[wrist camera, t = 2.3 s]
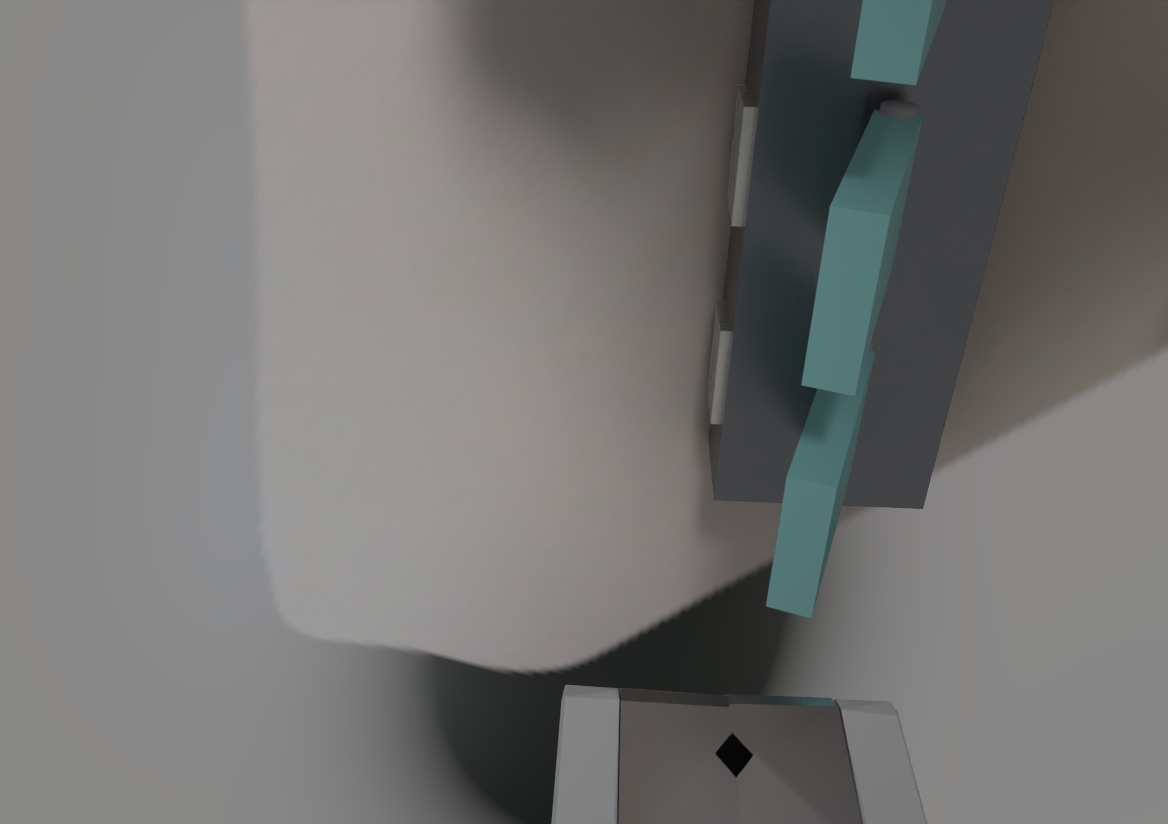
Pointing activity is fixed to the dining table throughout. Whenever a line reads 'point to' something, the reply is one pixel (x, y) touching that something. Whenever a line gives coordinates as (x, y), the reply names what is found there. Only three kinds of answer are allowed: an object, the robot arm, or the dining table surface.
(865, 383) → the teal flat block
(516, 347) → the dining table surface
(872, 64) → the rocker
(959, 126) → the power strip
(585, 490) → the dining table surface
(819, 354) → the block
